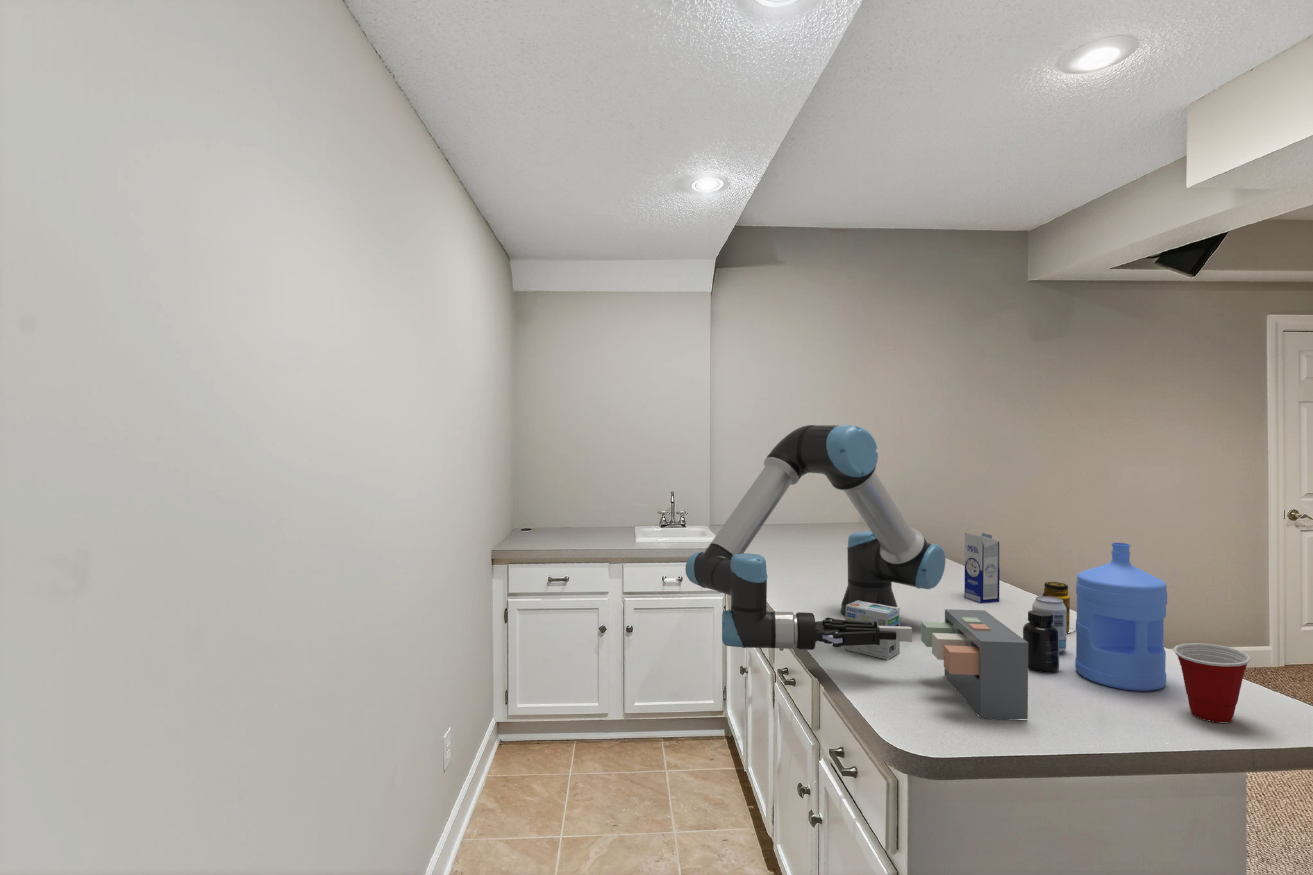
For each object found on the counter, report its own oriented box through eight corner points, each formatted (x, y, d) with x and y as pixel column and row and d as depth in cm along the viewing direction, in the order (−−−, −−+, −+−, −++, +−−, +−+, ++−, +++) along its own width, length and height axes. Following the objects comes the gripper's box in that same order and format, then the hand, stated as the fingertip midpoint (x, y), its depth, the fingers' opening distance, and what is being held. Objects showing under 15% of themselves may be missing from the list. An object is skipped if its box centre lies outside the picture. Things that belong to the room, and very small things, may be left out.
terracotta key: (950, 673, 123) (950, 652, 123) (943, 666, 127) (943, 645, 127) (990, 675, 123) (990, 653, 123) (982, 667, 126) (982, 646, 126)
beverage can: (1064, 647, 160) (1064, 597, 160) (1067, 657, 154) (1068, 604, 154) (1030, 643, 163) (1031, 594, 163) (1033, 652, 157) (1033, 601, 156)
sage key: (926, 646, 138) (926, 627, 138) (921, 640, 142) (921, 621, 142) (962, 647, 138) (962, 628, 138) (956, 641, 141) (956, 622, 141)
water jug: (1059, 664, 149) (1061, 537, 149) (1132, 664, 149) (1134, 537, 148) (1104, 692, 134) (1106, 550, 133) (1185, 693, 133) (1187, 551, 133)
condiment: (1076, 631, 173) (1077, 584, 173) (1059, 637, 168) (1060, 589, 168) (1047, 624, 179) (1047, 579, 179) (1030, 629, 174) (1030, 583, 174)
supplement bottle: (1055, 664, 149) (1055, 610, 149) (1062, 675, 143) (1063, 618, 143) (1020, 660, 152) (1020, 607, 151) (1025, 671, 145) (1026, 615, 145)
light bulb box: (900, 653, 157) (901, 606, 157) (888, 660, 152) (888, 613, 152) (857, 643, 164) (857, 598, 164) (844, 650, 159) (844, 604, 159)
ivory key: (937, 659, 131) (937, 638, 131) (931, 652, 135) (932, 632, 135) (975, 660, 130) (975, 640, 130) (968, 654, 134) (968, 634, 134)
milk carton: (963, 597, 206) (964, 532, 206) (981, 595, 208) (982, 531, 208) (981, 603, 199) (982, 535, 199) (999, 601, 201) (1000, 534, 201)
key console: (980, 718, 122) (981, 639, 122) (944, 675, 143) (944, 607, 143) (1027, 720, 121) (1028, 641, 121) (984, 676, 142) (984, 608, 142)
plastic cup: (1157, 705, 127) (1158, 642, 127) (1210, 703, 128) (1211, 640, 128) (1209, 731, 117) (1209, 662, 116) (1266, 729, 118) (1268, 660, 117)
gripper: (792, 638, 150) (903, 642, 147) (798, 658, 137) (919, 663, 134) (792, 604, 150) (903, 607, 147) (798, 621, 137) (919, 625, 134)
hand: (911, 634), depth 140 cm, fingers closed
